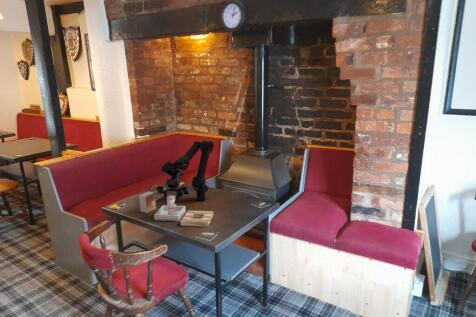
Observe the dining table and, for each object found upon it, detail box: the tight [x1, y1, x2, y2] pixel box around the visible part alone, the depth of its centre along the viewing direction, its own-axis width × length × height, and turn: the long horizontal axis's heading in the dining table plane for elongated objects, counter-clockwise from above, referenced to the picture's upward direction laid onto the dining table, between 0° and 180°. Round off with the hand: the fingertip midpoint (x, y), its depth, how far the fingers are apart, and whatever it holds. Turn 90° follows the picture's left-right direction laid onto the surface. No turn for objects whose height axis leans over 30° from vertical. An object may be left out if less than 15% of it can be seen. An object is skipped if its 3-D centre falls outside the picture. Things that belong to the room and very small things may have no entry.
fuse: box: [166, 194, 177, 215], centre depth 195 cm, size 5×5×10 cm
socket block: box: [179, 210, 214, 228], centre depth 192 cm, size 15×15×2 cm
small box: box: [138, 190, 157, 214], centre depth 207 cm, size 8×6×10 cm
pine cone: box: [138, 184, 166, 202], centre depth 221 cm, size 22×10×10 cm, turn 151°
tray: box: [153, 204, 187, 222], centre depth 198 cm, size 14×14×4 cm
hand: (170, 203), depth 194 cm, fingers closed on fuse, 5 cm apart
